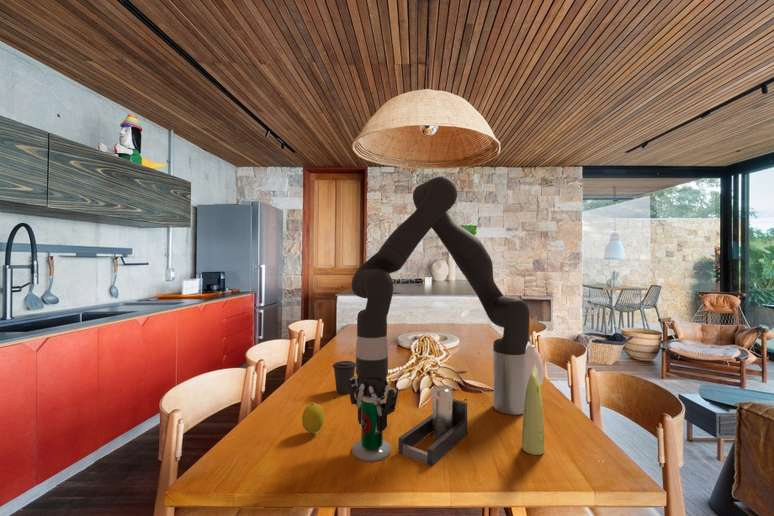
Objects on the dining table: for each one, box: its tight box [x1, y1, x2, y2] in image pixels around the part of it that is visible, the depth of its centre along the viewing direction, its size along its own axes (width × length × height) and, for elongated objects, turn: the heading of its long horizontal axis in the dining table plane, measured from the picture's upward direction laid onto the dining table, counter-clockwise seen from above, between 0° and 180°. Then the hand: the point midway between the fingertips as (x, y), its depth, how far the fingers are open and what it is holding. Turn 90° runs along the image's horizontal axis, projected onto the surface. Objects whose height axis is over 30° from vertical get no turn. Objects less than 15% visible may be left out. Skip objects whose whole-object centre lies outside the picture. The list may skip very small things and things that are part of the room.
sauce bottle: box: [526, 337, 545, 389], centre depth 121 cm, size 8×8×18 cm
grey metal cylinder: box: [432, 384, 454, 441], centre depth 89 cm, size 5×5×12 cm
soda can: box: [360, 395, 384, 450], centre depth 83 cm, size 5×5×12 cm
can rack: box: [397, 398, 468, 467], centre depth 86 cm, size 18×9×8 cm, turn 143°
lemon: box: [301, 402, 325, 435], centre depth 91 cm, size 6×6×8 cm
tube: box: [521, 363, 545, 456], centre depth 83 cm, size 6×5×20 cm
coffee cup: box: [332, 360, 356, 396], centre depth 120 cm, size 8×8×10 cm
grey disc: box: [351, 439, 392, 462], centre depth 83 cm, size 9×9×1 cm
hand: (372, 426), depth 83 cm, fingers closed on soda can, 5 cm apart
